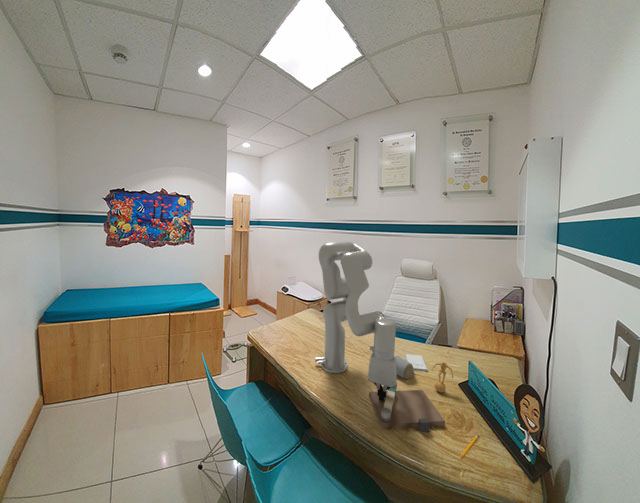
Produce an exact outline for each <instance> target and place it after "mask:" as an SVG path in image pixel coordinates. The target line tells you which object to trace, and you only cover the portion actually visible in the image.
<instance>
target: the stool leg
mask: <svg viewBox="0 0 640 503" xmlns="http://www.w3.org/2000/svg"><path fill="white" fill-rule="evenodd" d="M387 391H388V393H387V396H386V400H385V403H384V407H383V408H382V409H381V419H382V421H384V422H390V421H391V412H392V408H393V404H394V400H395V396H396V391H397V388H390V389H388V390H387Z"/></svg>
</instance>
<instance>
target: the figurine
mask: <svg viewBox="0 0 640 503" xmlns="http://www.w3.org/2000/svg"><path fill="white" fill-rule="evenodd" d="M436 366H440V369H439V370H438V375H437V376H438V381H436V382H435V385H434V388H435V390H436V391H437V392H438V393H445V391H446V385H445V384H444V382H445V377H446V376H447V372H446V369H448V370H450V372H451V373H450V374H451V378H454V375H453V374H454V373H453V369H452V368H451V367H450V366H449V365H448V364H447V363H446V362H444V361H442V362H439V363H435V364H434V365H433V366H432V368H431V371H433V370H434V369H435V368H436ZM441 375H442V381H441Z"/></svg>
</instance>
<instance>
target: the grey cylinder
mask: <svg viewBox="0 0 640 503" xmlns="http://www.w3.org/2000/svg"><path fill="white" fill-rule="evenodd" d="M394 356H395V357H396V362H397V376H400V377H401V378H403V379H406V380H407V379H409V378H411V377H412V375H413V373H414V370H413V365H412V364H411V363H409V362H408V361H407V360H406V358H405V359H404V357H401V356H400V355H394Z"/></svg>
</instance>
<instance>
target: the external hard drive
mask: <svg viewBox="0 0 640 503" xmlns="http://www.w3.org/2000/svg"><path fill="white" fill-rule="evenodd" d="M405 360H406V361H408V362H409V363H411V364H412V365H413V370H415V371H421V372H428V368H427V366H426V363H425V360H424V358H423V356H422V355H418V354H408V353H405Z"/></svg>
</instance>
